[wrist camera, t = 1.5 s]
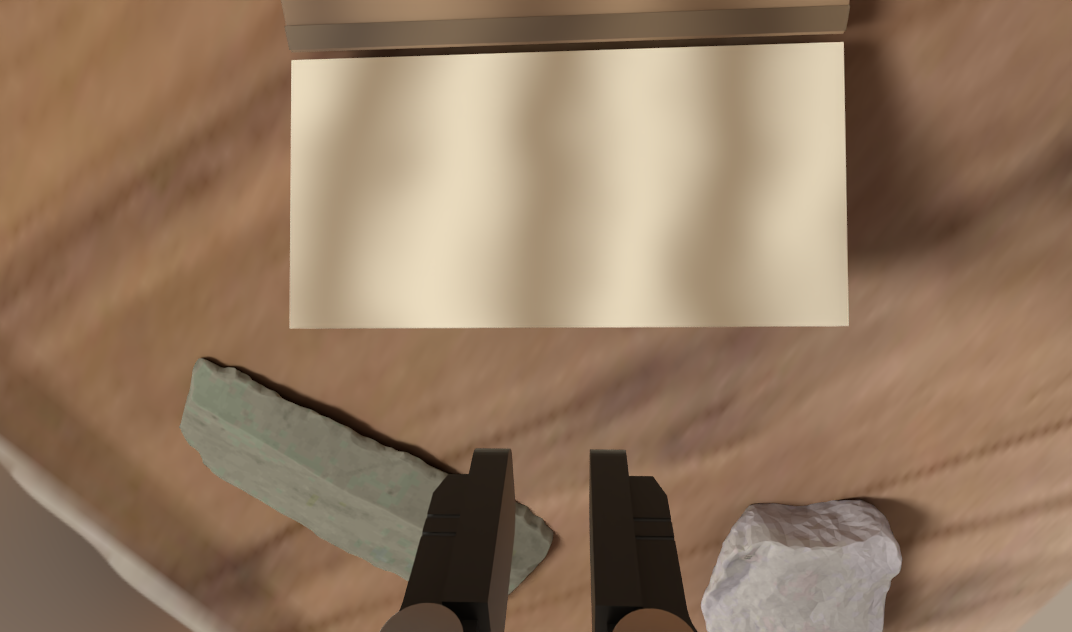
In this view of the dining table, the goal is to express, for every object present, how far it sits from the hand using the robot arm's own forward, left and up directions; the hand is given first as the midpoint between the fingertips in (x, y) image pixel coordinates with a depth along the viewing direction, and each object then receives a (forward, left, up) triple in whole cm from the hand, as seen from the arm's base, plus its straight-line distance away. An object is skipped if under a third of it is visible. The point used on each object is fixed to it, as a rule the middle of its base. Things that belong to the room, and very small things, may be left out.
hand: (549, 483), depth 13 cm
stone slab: (+12, +17, -18) cm, 28 cm away
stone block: (-13, +23, -18) cm, 32 cm away
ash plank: (0, -1, -14) cm, 14 cm away
